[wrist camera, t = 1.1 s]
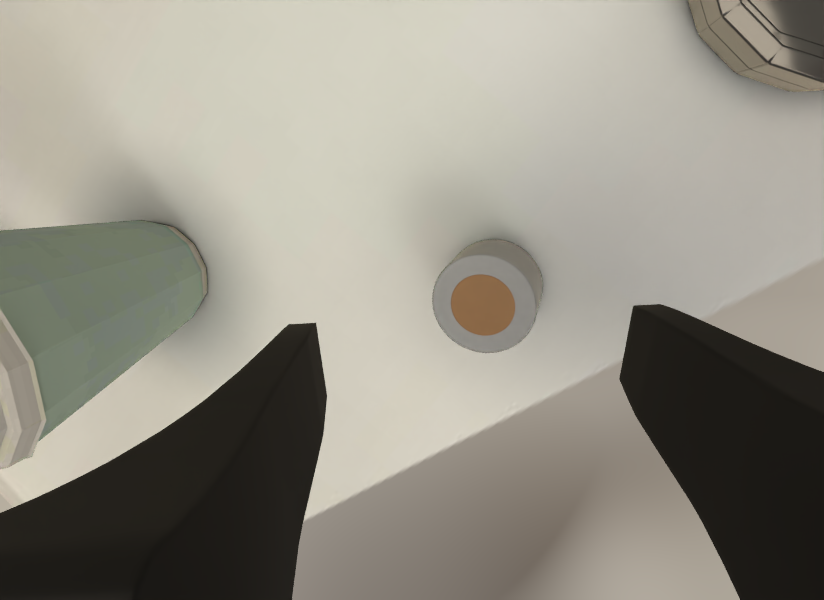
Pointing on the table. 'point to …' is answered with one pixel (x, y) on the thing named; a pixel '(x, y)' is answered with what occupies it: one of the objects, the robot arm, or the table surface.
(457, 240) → the table surface
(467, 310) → the tape
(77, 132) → the table surface
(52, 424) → the disposable coffee cup
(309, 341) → the robot arm
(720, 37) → the bowl
